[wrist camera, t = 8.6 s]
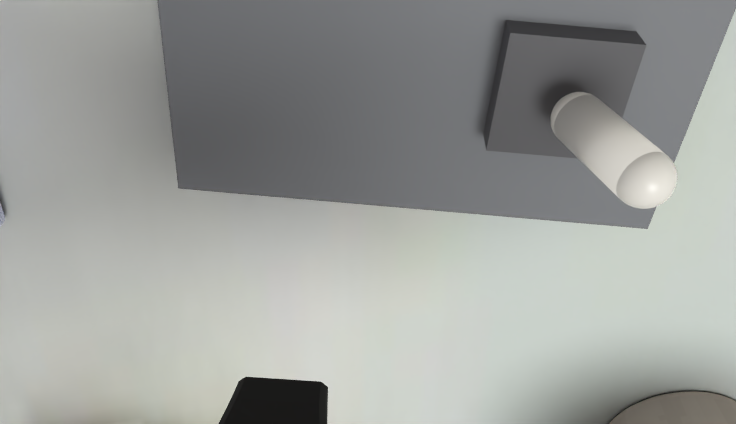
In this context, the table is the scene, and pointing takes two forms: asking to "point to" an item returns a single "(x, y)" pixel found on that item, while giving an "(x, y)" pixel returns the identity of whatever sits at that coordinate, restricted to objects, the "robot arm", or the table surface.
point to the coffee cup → (680, 410)
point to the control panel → (427, 97)
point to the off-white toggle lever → (614, 150)
